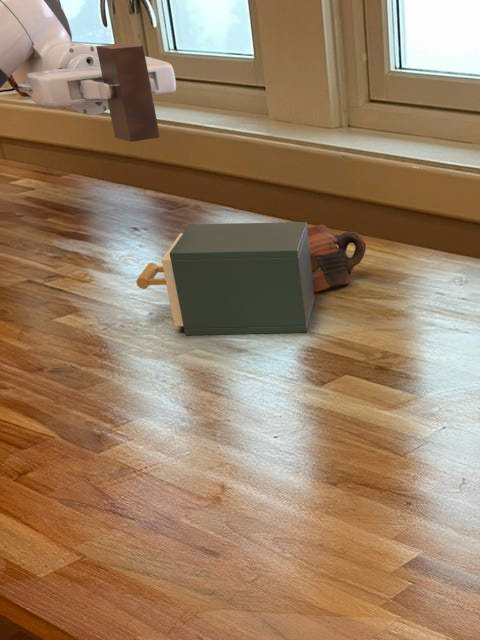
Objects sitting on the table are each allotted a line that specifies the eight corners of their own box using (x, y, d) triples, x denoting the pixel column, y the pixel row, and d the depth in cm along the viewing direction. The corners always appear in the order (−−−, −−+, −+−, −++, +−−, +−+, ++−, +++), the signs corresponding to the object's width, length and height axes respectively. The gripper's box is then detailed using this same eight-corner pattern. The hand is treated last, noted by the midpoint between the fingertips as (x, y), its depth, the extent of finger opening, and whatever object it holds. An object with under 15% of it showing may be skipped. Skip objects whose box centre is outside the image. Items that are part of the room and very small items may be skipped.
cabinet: (185, 335, 116) (169, 252, 110) (203, 301, 126) (189, 224, 120) (306, 332, 117) (297, 250, 111) (315, 298, 127) (306, 221, 121)
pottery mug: (295, 301, 127) (269, 239, 125) (296, 311, 137) (271, 253, 135) (379, 268, 129) (354, 206, 127) (374, 280, 138) (350, 223, 136)
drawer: (139, 327, 116) (124, 260, 111) (158, 296, 125) (146, 233, 120) (287, 324, 117) (278, 257, 112) (296, 293, 126) (288, 231, 121)
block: (131, 141, 133) (112, 48, 126) (114, 137, 135) (95, 46, 128) (160, 137, 135) (143, 45, 128) (143, 133, 138) (126, 43, 131)
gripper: (5, 60, 131) (52, 69, 123) (141, 48, 143) (191, 56, 135) (18, 112, 135) (65, 124, 127) (149, 96, 146) (199, 106, 139)
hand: (131, 89), depth 131 cm, fingers closed on block, 4 cm apart
